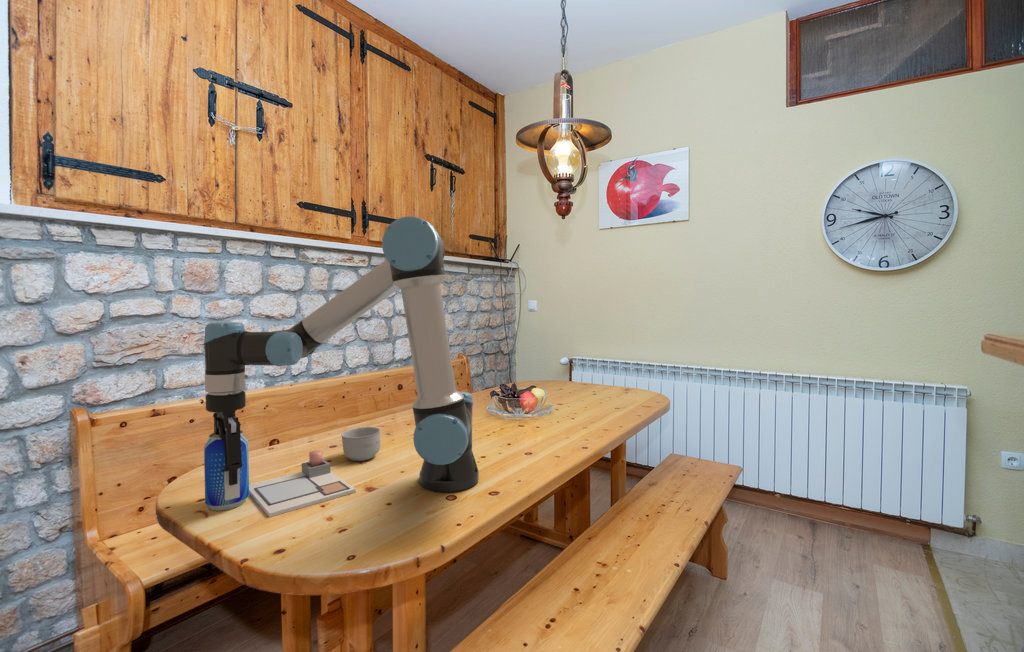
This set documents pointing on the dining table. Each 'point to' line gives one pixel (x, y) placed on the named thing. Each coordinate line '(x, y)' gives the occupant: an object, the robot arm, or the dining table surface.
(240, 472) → the beer can
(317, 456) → the button
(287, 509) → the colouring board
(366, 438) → the teacup
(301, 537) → the dining table surface
